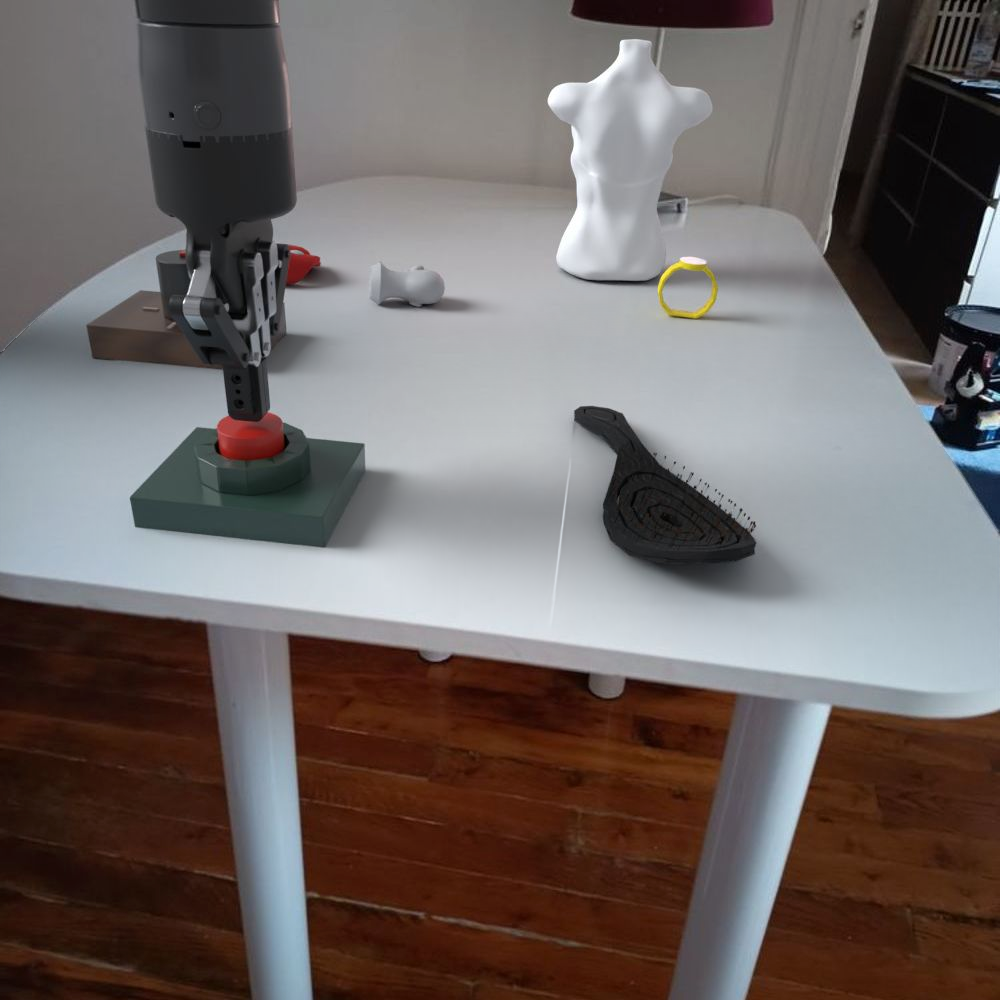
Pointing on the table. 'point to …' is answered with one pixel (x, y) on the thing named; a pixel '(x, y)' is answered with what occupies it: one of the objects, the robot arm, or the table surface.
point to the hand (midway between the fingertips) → (249, 416)
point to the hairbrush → (661, 504)
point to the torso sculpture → (622, 163)
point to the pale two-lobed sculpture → (405, 285)
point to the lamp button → (251, 438)
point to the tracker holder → (300, 263)
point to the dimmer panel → (147, 334)
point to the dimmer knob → (172, 276)
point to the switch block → (252, 490)
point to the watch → (694, 265)
